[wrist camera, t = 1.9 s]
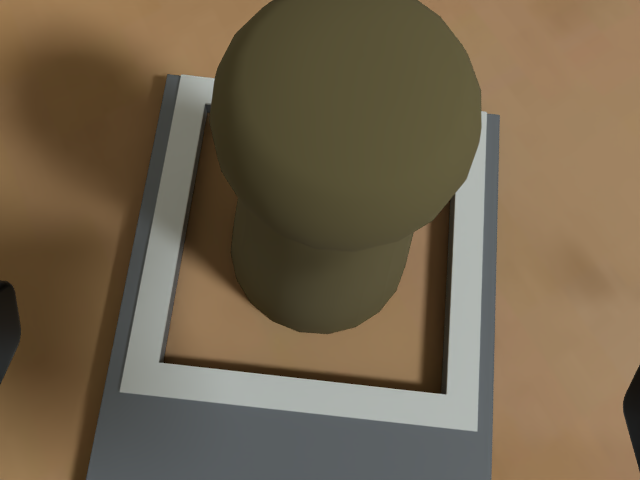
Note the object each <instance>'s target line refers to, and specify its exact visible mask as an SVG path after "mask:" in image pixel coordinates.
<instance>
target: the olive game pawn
mask: <svg viewBox="0 0 640 480" xmlns="http://www.w3.org/2000/svg"><path fill="white" fill-rule="evenodd" d="M209 122H210V127H211V131H212V135H213V140H214V144H215V148H216V153H217V157H218V161H219V164H220V168H221V171H222V173H223V174H224V176H225V178H226V179H227V181H228V182H229V184H230V186H231V187H232V189H233V190H234V192H235V194H236V195H237V197H238V201H237V208H236V214H235V220H234V227H233V236H232V245H231V256H232V261H233V265H234V270H235V274H236V279H237V281H238V282H239V284H240V286H241V287H242V289H243V290H244V292H245V294H246V295H247V297H248V299H249V300H250V302H251V303H252V304H253V305H254V306H255V307H256V308H258V309H259V310H260V311H261V312H262V313H264V314H265V315H266V316H267V317H268V318H269V319H271V320H272V321H273V322H276V323H278V324H281V325H283V326H286V327H288V328H291V329H293V330H296V331H298V332H306V333H320V334H330V333H334V332H338V331H342V330H346V329H350V328H354V327H356V326H358V325H360V324H361V323H363V322H364V321H366V320H367V319H369V318H371V317H372V316H374V315H375V314H377V313H378V312H380V310H381V309H382V308H383V307H384V305H385V304H386V303H387V302H388V300H389V299H390V298H391V297H392V295H393V294H394V293H395V292H396V290H397V287H398V284H399V282H400V279H401V276H402V273H403V271H404V268H405V265H406V261H407V257H408V253H409V249H410V245H411V241H412V237H413V233H414V232H415V231H416V230H418V229H420V228H421V227H423V226H425V225H426V224H428V223H429V222H431V221H433V220H434V219H435V217H436V216H437V215H438V214H439V213H440V211H441V210H442V209H443V208H444V206H445V205H446V204H447V203H448V202H449V200H450V199H451V198H452V197H453V195H454V194H455V193H456V192H457V191H458V189H459V188H460V187H461V186H462V184H463V183H464V182H465V181H466V179H467V177H468V174H469V171H470V168H471V165H472V162H473V160H474V157H475V154H476V151H477V148H478V145H479V142H480V135H481V129H482V121H481V89H480V86H479V83H478V81H477V78H476V75H475V72H474V70H473V67H472V64H471V61H470V59H469V56H468V54H467V52H466V50H465V49H464V47H463V45H462V44H461V43H460V41H459V40H458V39H457V38H456V36H455V35H454V34H453V32H452V31H451V30H450V29H449V27H448V26H447V25H446V23H445V22H444V21H443V20H442V18H441V17H440V16H439V15H437V14H436V13H435V12H433V11H432V10H430V9H429V8H428V7H426V6H425V5H423V4H422V3H421V2H419V1H418V0H273V1H271V2H270V3H268V4H267V5H266V6H264V7H263V8H262V9H261V10H260V11H259V12H258V13H257V14H255V15H254V16H253V17H252V18H251V19H250V20H249V21H248V22H247V23H246V24H245V25H244V26H243V27H242V28H241V29H240V30H239V31H238V32H237V33H236V34H235V35H234V37H233V39H232V41H231V43H230V45H229V47H228V49H227V51H226V52H225V54H224V56H223V58H222V60H221V62H220V64H219V66H218V68H217V72H216V76H215V80H214V86H213V94H212V102H211V110H210V117H209Z"/></svg>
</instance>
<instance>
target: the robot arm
mask: <svg viewBox="0 0 640 480" xmlns="http://www.w3.org/2000/svg"><path fill="white" fill-rule="evenodd" d="M20 336H21V326H20V320H19V313H18V307H17V301H16V295H15V290H14V288H13V286H12V284H11V283H9V282H8V281H1V280H0V384H1V382H2V379H3V377H4V375H5V373H6V371H7V369H8V366H9V364H10V362H11V360H12V358H13V356H14V354H15V351H16V349H17V347H18V344H19V341H20ZM623 412H624V417H625V420H626V424H627V427H628V431H629V435H630V438H631V442H632V445H633V449H634V453H635V456H636V460H637V464H638V467H639V471H640V365H639V367H638V369H637V371H636V373H635V375H634V378H633V380H632V382H631V384H630V386H629V388H628V390H627V392H626V394H625V397H624V401H623Z"/></svg>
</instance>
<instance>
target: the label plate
mask: <svg viewBox="0 0 640 480" xmlns="http://www.w3.org/2000/svg"><path fill="white" fill-rule="evenodd" d="M214 80H215V79H214V78H206V77H198V76H190V75H182V74H181V76H178V75H170V74H168V75H167V80H166V85H165V90H164V95H163V100H162V105H161V110H160V115H159V120H158V125H157V130H156V135H155V140H154V145H153V150H152V154H151V159H150V164H149V169H148V174H147V179H146V184H145V189H144V194H143V199H142V204H141V209H140V214H139V219H138V224H137V229H136V234H135V239H134V244H133V249H132V254H131V259H130V264H129V269H128V274H127V279H126V284H125V289H124V293H123V298H122V303H121V308H120V313H119V318H118V323H117V328H116V333H115V338H114V343H113V348H112V353H111V358H110V363H109V368H108V373H107V378H106V383H105V388H104V393H103V398H102V403H101V408H100V413H99V418H98V423H97V428H96V432H95V437H94V442H93V447H92V452H91V457H90V462H89V467H88V472H87V477H86V480H491V468H492V425H493V382H494V339H495V296H496V252H497V209H498V166H499V123H500V115H495V114H487V112H482V111H481V121H482V129H481V135H480V142H479V145H478V148H477V151H476V154H475V157H474V160H473V162H472V165H471V168H470V171H469V174H468V177H467V179H466V181H465V182H464V183H463V184H462V186H461V187H460V188H459V189H458V191H457V192H456V193H455V194H454V195H453V197H452V198H451V199H450V217H449V239H448V260H447V281H446V303H445V324H444V345H443V366H442V388H441V394H436V393H427V392H418V391H409V390H400V389H391V388H383V387H374V386H365V385H356V384H347V383H338V382H329V381H320V380H311V379H302V378H293V377H284V376H275V375H266V374H257V373H248V372H239V371H230V370H221V369H212V368H203V367H194V366H185V365H176V364H167V363H163V361H164V355H165V349H166V344H167V338H168V332H169V327H170V321H171V315H172V310H173V304H174V298H175V293H176V287H177V281H178V276H179V270H180V264H181V259H182V253H183V247H184V242H185V236H186V230H187V225H188V219H189V213H190V208H191V202H192V196H193V191H194V185H195V179H196V174H197V168H198V162H199V157H200V151H201V145H202V140H203V134H204V128H205V123H206V117H207V113H210V110H211V102H212V94H213V86H214Z"/></svg>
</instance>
